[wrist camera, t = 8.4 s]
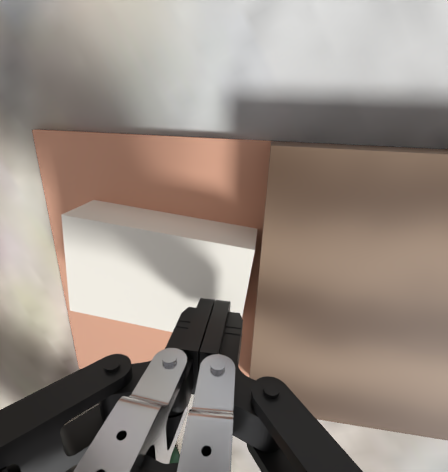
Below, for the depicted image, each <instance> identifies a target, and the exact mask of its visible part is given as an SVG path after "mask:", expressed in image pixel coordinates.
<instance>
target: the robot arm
mask: <svg viewBox="0 0 448 472" xmlns="http://www.w3.org/2000/svg"><path fill="white" fill-rule="evenodd" d="M230 306H231V302H230V301H223V300H214V299H205V298H200V300H199V302H198V305H197V307H196V308H194V307H188V308H187V309H185V310H184V311H183V312H182V313H181V315H180V317H179V319H178V322H177V324H176V326H175V328H174V330H173V332H172V334H171V337H170V339H169V341H168V343H167V345H166V347H165V349H163V350H161V351H159V352H158V353H157V354H156V355H155V356H154V357H153V359H152V360H151V361H148V362H142V363H134V364H131V360H130V358H129V357H128V356H126V355H123V354H112V355H108V356H106V357H104V358H102V359H100V360H98V361H96V362H94V363H92V364H90V365H88V366H86V367H84V368H82V369H80V370H78V371H76V372H74V373H72V374H70V375H68V376H67V377H65V378H63V379H61V380H59V381H57V382H55V383H53V384H51V385H49V386H47V387H45V388H43V389H41V390H39V391H37V392H35V393H33V394H31V395H29V396H27V397H25V398H23V399H21V400H19V401H17V402H15V403H13V404H11V405H9V406H7V407H5V408H3V409H1V410H0V472H231V456H232V435H233V436H235V437H237V438H239V439H241V440H242V441H244V442H246V443H247V447H248V450H249V452H250V453H251V455H252V457H253V458H254V460H255V462H256V463H257V465H258V467H259V468H260V470H261V472H363V471H362V470H361V469H360V468H359V467H358V466H357V465H356V463H355V462H354V461H353V460H352V459H351V458H350V457H349V456H348V454H347V453H346V452H345V451H344V450H343V449H342V448H341V446H340V445H339V444H338V443H337V442H336V441H335V440H334V439H333V437H332V436H331V435H330V434H329V433H328V432H327V431H326V429H325V428H324V427H323V426H322V425H321V424H320V423H319V422H318V420H317V419H316V418H315V417H314V416H313V415H312V414H311V413H310V411H309V410H308V409H307V408H306V407H305V406H304V405H303V403H302V402H301V401H300V400H299V399H298V398H297V397H296V396H295V394H294V393H293V392H292V391H291V390H290V389H289V388H288V386H287V385H286V384H285V383H284V382H282V381H281V380H279V379H277V378H275V377H270V376H265V377H261V378H259V379H257V380H254V379H251V378H249V377H248V376H246V375H245V374H244V373H242V371H241V370H240V369H239V367H238V365H239V358H240V350H241V341H242V327H243V319H242V317H241V315H240V313H235V312H230ZM191 394H195V395H194V400H193V406H192V410H190V411H189V414H188V418H187V423H186V428H185V433H184V438H183V443H182V448H181V453H180V458H179V463H169V462H170V458H171V455H172V452H173V449H174V447H175V444H176V441H177V439H178V436H179V433H180V430H181V428H182V425H183V422H184V420H185V417H186V414H187V411H188V403H189V400H190V397H191ZM97 403H99V405H98V406H96V407H94V408H93V409H91V410H89V411H88V412H86V413H84V414H83V415H81V416H80V417H78V418H76V419H75V420H73V421H71V422H70V423H68V424H66V425H65V426H64V424H65V423H66V422H68V421H69V420H71V419H72V418H74V417H76V416H77V415H79V414H81V413H82V412H84V411H86V410H87V409H89V408H91V407H92V406H94V405H95V404H97Z"/></svg>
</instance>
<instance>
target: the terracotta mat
mask: <svg viewBox="0 0 448 472" xmlns="http://www.w3.org/2000/svg"><path fill="white" fill-rule="evenodd" d="M32 132H33V138H34V143H35V148H36V153H37V158H38V163H39V168H40V173H41V178H42V183H43V188H44V193H45V198H46V203H47V209H48V214H49V219H50V224H51V229H52V234H53V239H54V244H55V249H56V254H57V259H58V264H59V269H60V274H61V280H62V285H63V290H64V295H65V300H66V305H67V310H68V315H69V320H70V325H71V330H72V335H73V340H74V345H75V351H76V356H77V361H78V366H79V369H82V368H84V367H86V366H88V365H90V364H92V363H94V362H96V361H98V360H100V359H102V358H104V357H106V356H108V355H112V354H123V355H126V356H128V357H129V358H130V360H131V364H134V363H142V362H148V361H151V360H152V359H153V357H154V356H155V355H156V354H157V353H158V352H159V351H161V350H163V349H165V347H166V345H167V343H168V341H169V339H170V337H171V334H172V332H169V331H164V330H159V329H155V328H150V327H145V326H140V325H136V324H131V323H126V322H122V321H117V320H112V319H108V318H103V317H98V316H93V315H89V314H84V313H79V312H75V311H70V307H69V296H68V285H67V273H66V262H65V251H64V240H63V228H62V217H61V215H62V214H64V213H66V212H68V211H71V210H73V209H75V208H77V207H79V206H82V205H84V204H86V203H88V202H90V201H92V200H98V201H103V202H109V203H115V204H120V205H126V206H132V207H137V208H143V209H149V210H154V211H160V212H166V213H171V214H177V215H183V216H188V217H194V218H200V219H205V220H211V221H217V222H223V223H228V224H234V225H240V226H245V227H251V228H257V237H256V245H255V252H254V258H253V263H252V268H251V273H250V279H249V284H248V289H247V294H246V299H245V305H244V310H243V315H242V319H243V327H242V341H241V350H240V358H239V365H238V367H239V369H240V370H241V371H242V373H244V374H245V375H246V376H248V377H249V375H250V364H251V353H252V342H253V331H254V321H255V310H256V299H257V288H258V277H259V266H260V255H261V245H262V234H263V223H264V212H265V201H266V190H267V180H268V169H269V158H270V147H271V141H264V140H243V139H222V138H202V137H181V136H160V135H140V134H119V133H99V132H78V131H57V130H32Z"/></svg>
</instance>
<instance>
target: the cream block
mask: <svg viewBox="0 0 448 472" xmlns="http://www.w3.org/2000/svg"><path fill="white" fill-rule="evenodd" d="M61 217H62V228H63V240H64V251H65V262H66V273H67V285H68V296H69V307H70V311H75V312H79V313H84V314H89V315H93V316H98V317H103V318H108V319H112V320H117V321H122V322H126V323H131V324H136V325H140V326H145V327H150V328H155V329H159V330H164V331H169V332H173V330H174V328H175V326H176V324H177V322H178V319H179V317H180V315H181V313H182V312H183V311H184V310H185V309H187V308H188V307H194V308H196V307H197V305H198V302H199V300H200V298H205V299H214V300H223V301H230V302H231V306H230V312H235V313H240V315H241V317H242V315H243V310H244V305H245V299H246V294H247V289H248V284H249V279H250V273H251V268H252V263H253V258H254V252H255V245H256V237H257V228H251V227H245V226H240V225H234V224H228V223H223V222H217V221H211V220H205V219H200V218H194V217H188V216H183V215H177V214H171V213H166V212H160V211H154V210H149V209H143V208H137V207H132V206H126V205H120V204H115V203H109V202H103V201H98V200H92V201H90V202H88V203H86V204H84V205H82V206H79V207H77V208H75V209H73V210H71V211H68V212H66V213H64V214H62V215H61Z"/></svg>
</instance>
